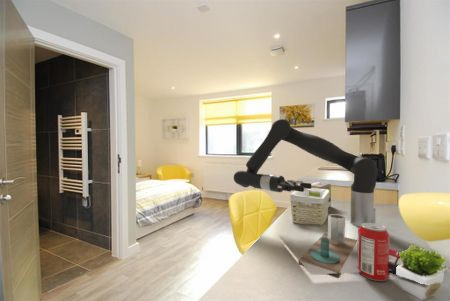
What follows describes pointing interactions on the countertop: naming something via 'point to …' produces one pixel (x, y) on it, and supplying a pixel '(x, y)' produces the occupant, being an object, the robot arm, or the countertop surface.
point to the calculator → (394, 261)
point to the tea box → (321, 186)
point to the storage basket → (310, 206)
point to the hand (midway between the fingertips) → (307, 187)
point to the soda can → (373, 251)
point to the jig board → (332, 248)
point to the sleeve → (336, 229)
